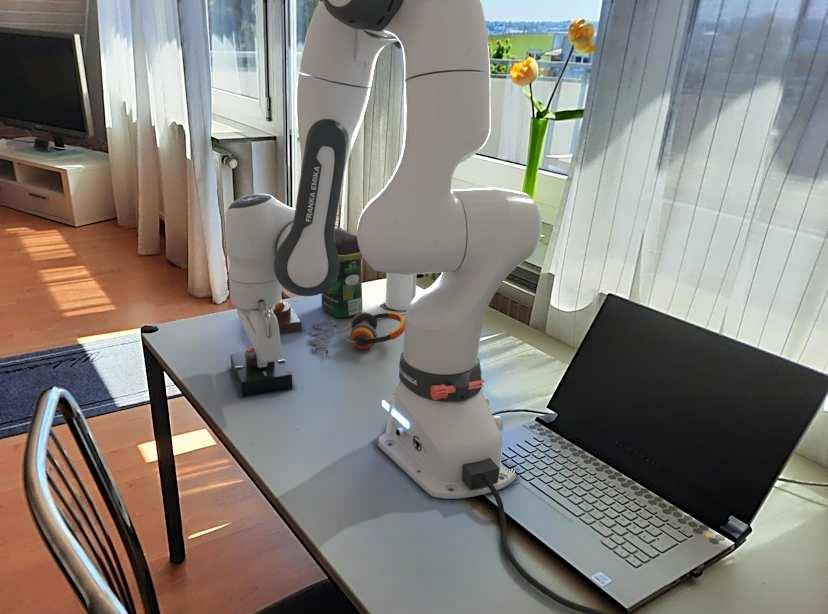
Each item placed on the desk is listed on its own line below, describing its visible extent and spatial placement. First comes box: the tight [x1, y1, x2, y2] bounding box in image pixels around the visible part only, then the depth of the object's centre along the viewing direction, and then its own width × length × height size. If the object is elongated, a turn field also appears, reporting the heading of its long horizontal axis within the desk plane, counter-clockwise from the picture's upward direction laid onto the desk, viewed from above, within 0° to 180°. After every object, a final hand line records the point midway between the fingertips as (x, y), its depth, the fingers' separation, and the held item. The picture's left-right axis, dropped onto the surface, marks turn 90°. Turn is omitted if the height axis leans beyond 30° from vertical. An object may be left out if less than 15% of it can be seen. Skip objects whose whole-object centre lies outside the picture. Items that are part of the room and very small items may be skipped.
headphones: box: [310, 311, 405, 357], centre depth 133 cm, size 17×5×20 cm
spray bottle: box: [385, 273, 418, 311], centre depth 147 cm, size 7×7×18 cm
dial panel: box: [230, 352, 293, 398], centre depth 119 cm, size 11×9×3 cm
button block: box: [273, 300, 302, 335], centre depth 140 cm, size 11×9×4 cm
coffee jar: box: [321, 227, 363, 319], centre depth 144 cm, size 10×8×19 cm
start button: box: [273, 298, 284, 311], centre depth 139 cm, size 4×4×2 cm
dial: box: [244, 347, 275, 368], centre depth 117 cm, size 5×2×3 cm, turn 110°
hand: (260, 361), depth 118 cm, fingers closed, pressing on dial
